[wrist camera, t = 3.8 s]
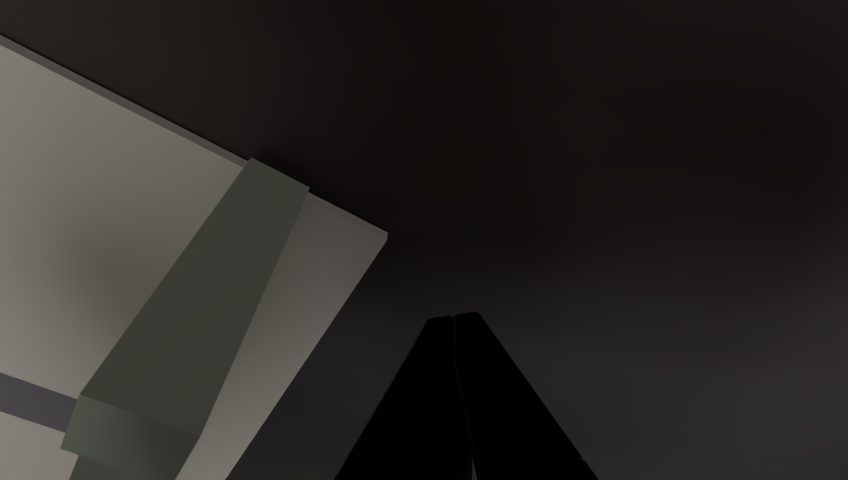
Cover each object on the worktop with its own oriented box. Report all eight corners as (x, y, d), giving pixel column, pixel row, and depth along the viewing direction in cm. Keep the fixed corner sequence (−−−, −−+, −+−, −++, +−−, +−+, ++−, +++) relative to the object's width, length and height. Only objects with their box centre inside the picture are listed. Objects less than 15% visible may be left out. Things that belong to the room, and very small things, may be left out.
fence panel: (174, 438, 14) (46, 700, 10) (130, 422, 14) (-26, 687, 9) (309, 187, 10) (200, 436, 5) (251, 157, 10) (79, 394, 5)
